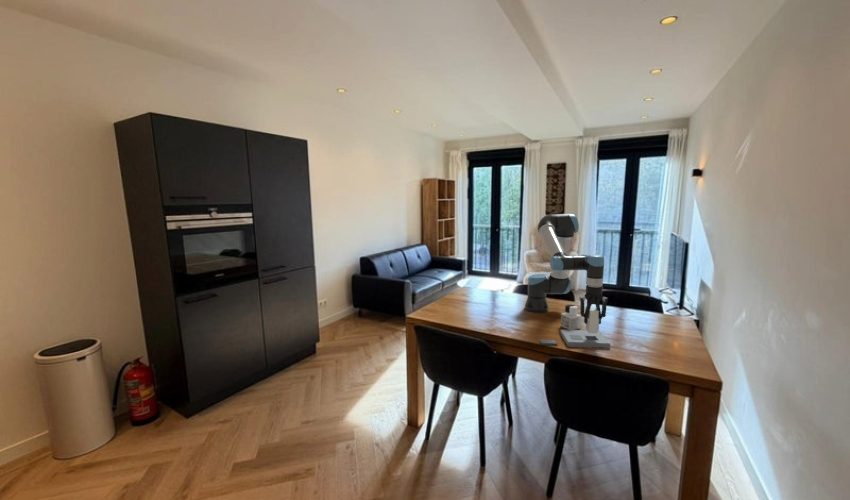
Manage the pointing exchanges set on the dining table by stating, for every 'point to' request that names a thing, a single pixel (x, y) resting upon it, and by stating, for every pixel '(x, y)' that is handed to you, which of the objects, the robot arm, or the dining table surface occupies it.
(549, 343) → the phone
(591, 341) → the outlet plate
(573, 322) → the container
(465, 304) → the dining table surface
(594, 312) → the light grey rectangular block
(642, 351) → the dining table surface
